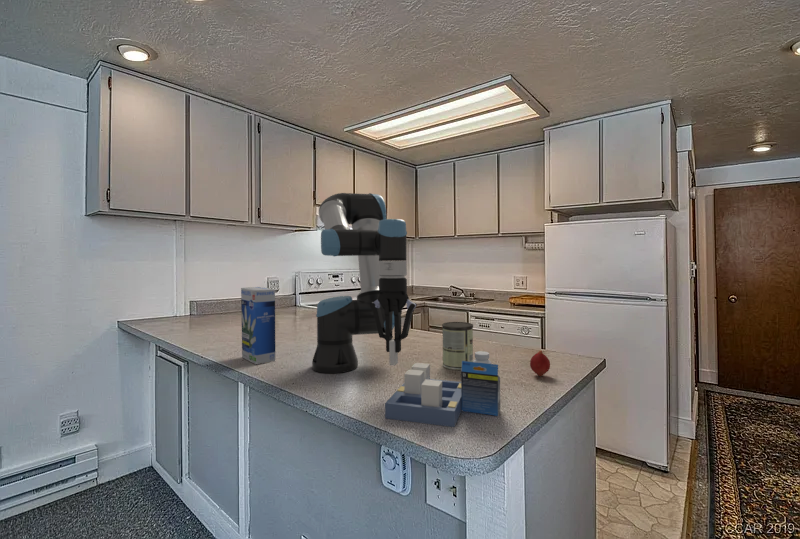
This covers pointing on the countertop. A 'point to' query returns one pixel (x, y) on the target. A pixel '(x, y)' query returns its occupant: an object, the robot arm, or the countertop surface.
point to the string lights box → (258, 324)
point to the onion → (540, 363)
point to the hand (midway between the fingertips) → (393, 364)
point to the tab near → (431, 393)
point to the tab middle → (413, 381)
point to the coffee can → (457, 344)
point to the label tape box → (480, 388)
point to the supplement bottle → (481, 359)
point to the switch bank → (412, 410)
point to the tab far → (423, 369)
